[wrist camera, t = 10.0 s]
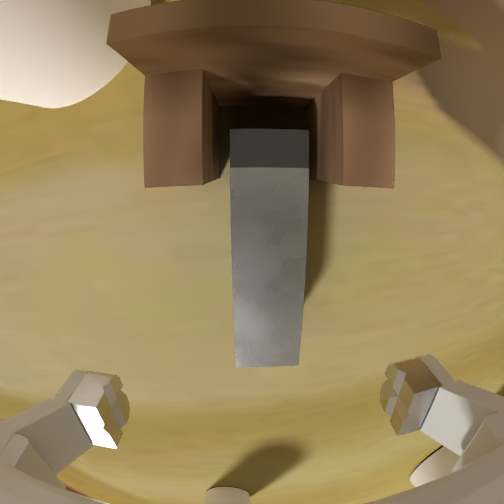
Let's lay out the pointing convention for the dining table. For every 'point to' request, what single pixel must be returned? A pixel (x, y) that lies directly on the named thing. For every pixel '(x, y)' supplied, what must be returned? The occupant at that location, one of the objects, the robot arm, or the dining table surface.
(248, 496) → the mug
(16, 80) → the canister
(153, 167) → the wooden chair block
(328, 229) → the dining table surface
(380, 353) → the dining table surface
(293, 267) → the rectangular grey metal block
